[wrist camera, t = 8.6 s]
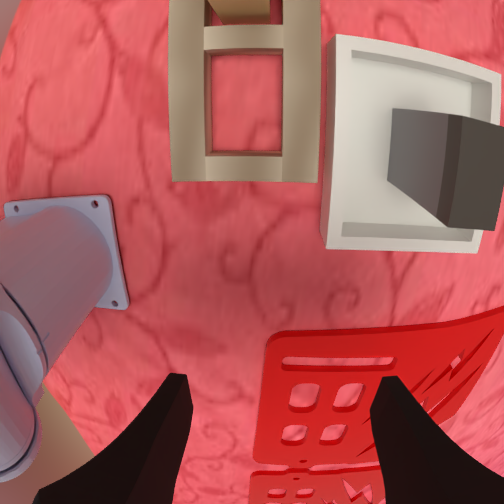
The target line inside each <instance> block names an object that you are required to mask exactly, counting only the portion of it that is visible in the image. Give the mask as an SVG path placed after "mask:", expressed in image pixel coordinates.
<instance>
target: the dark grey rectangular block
mask: <svg viewBox="0 0 504 504" xmlns="http://www.w3.org/2000/svg"><path fill="white" fill-rule="evenodd" d="M387 181H388V182H390V183H391V184H392V185H394V186H395V187H397V188H398V189H399V190H401V191H402V192H403V193H405V194H406V195H407V196H409V197H410V198H411V199H413V200H414V201H415V202H416V203H418V204H419V205H420V206H422V207H423V208H424V209H425V210H427V211H428V212H429V213H430V214H432V215H433V216H434V217H435V218H437V219H438V220H439V221H440V222H442V223H443V224H444V225H445V226H446V227H448V228H462V229H476V230H489V231H494V230H495V226H496V221H497V217H498V212H499V208H500V203H501V197H502V192H503V186H504V127H502V126H499V125H495V124H492V123H488V122H485V121H481V120H478V119H474V118H470V117H466V116H462V115H455V114H447V113H439V112H431V111H421V110H411V109H399V108H392V126H391V141H390V154H389V165H388V175H387Z"/></svg>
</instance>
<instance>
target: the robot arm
mask: <svg viewBox="0 0 504 504" xmlns="http://www.w3.org/2000/svg"><path fill="white" fill-rule="evenodd" d="M94 200H95V201H97V202H98V206H96V205H95V204H94ZM17 206H18V208H19V210H18V208H17ZM4 213H5V218H4V219H2V220H0V482H5V481H8V480H11V479H13V478H15V477H17V476H19V475H20V474H22V473H23V472H24V471H25V470H26V469H27V468H28V467H29V466H30V465H31V463H32V462H33V461H34V459H35V457H36V455H37V454H38V451H39V448H40V445H41V439H42V426H41V420H40V417H39V414H38V412H37V410H36V409H35V407H36V405H37V404H38V402H39V401H40V399H41V397H42V396H43V394H44V391H43V388H42V382H43V380H44V378H45V377H46V375H47V374H48V372H49V371H50V369H51V368H52V366H53V365H54V363H55V362H56V360H57V359H58V357H59V356H60V354H61V353H62V351H63V350H64V349H65V347H66V346H67V344H68V343H69V341H70V340H71V338H72V337H73V336H74V334H75V333H76V331H77V330H78V329H79V327H80V326H81V324H82V323H83V322H84V320H85V319H86V318H87V316H88V315H89V313H90V312H91V311H92V309H93V308H94V307H98V308H108V309H118V310H125V309H127V308H128V306H129V298H128V294H127V289H126V284H125V280H124V275H123V270H122V264H121V259H120V254H119V248H118V242H117V236H116V230H115V224H114V217H113V210H112V203H111V199H110V198H109V197H108V196H107V195H103V194H102V195H84V196H68V197H54V198H41V199H29V200H18V201H9V202H7V203H5V204H4ZM114 301H116V302H117V303H118V304H117V303H115V302H114ZM369 410H370V419H371V428H372V434H373V438H374V442H375V447H376V451H377V455H378V459H379V463H380V467H381V472H382V476H383V481H384V487H385V498H386V504H504V477H502V476H500V475H498V474H497V473H495V472H493V471H491V470H490V469H488V468H487V467H485V466H484V465H482V464H481V463H479V462H478V461H477V460H475V459H474V458H473V457H471V456H470V455H469V454H467V453H466V452H465V451H464V450H463V449H461V448H460V447H459V446H458V445H457V444H456V443H455V442H454V441H453V440H451V439H450V438H449V437H448V436H447V435H446V434H445V433H444V431H443V430H442V429H441V428H440V427H439V426H438V425H437V424H436V423H435V422H434V421H433V419H432V418H431V417H430V416H429V415H428V413H427V412H426V411H425V410H424V409H423V408H422V406H421V405H420V404H419V403H418V401H417V400H416V399H415V397H414V396H413V395H412V394H411V392H410V391H409V390H408V389H407V387H406V386H405V385H404V383H403V382H402V381H401V380H400V378H399V377H398V376H397V375H396V376H384V377H382V379H381V382H380V384H379V387H378V390H377V392H376V395H375V397H374V400H373V402H372V404H371V407H370V409H369ZM192 414H193V404H192V399H191V394H190V389H189V384H188V379H187V375H186V374H176V373H170V374H169V375H168V376H167V377H166V379H165V380H164V382H163V383H162V385H161V386H160V387H159V389H158V390H157V392H156V393H155V394H154V396H153V397H152V398H151V399H150V401H149V402H148V403H147V404H146V406H145V407H144V408H143V409H142V411H141V412H140V413H139V414H138V415H137V417H136V418H135V419H134V420H133V421H132V422H131V423H130V424H129V425H128V427H127V428H126V429H125V430H124V431H123V432H122V433H121V434H120V435H119V436H118V437H117V438H116V439H115V440H114V441H113V442H112V443H110V444H109V445H108V446H107V447H106V448H105V449H104V450H102V451H101V452H100V453H99V454H97V455H96V456H95V457H94V458H92V459H91V460H90V461H88V462H87V463H86V464H84V465H83V466H81V467H80V468H78V469H76V470H75V471H73V472H72V473H70V474H69V475H67V476H66V477H63V478H62V479H60V480H58V481H56V482H54V483H52V484H50V485H48V486H46V487H44V488H41V489H39V491H38V493H37V495H36V496H35V498H34V501H33V503H32V504H172V501H173V494H174V488H175V483H176V479H177V475H178V472H179V468H180V464H181V461H182V457H183V454H184V450H185V447H186V443H187V440H188V436H189V432H190V427H191V421H192Z"/></svg>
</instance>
